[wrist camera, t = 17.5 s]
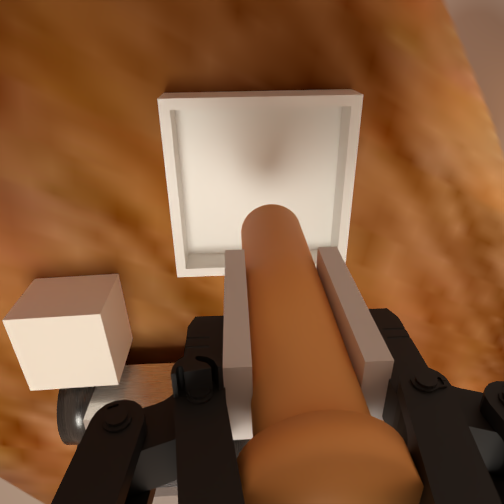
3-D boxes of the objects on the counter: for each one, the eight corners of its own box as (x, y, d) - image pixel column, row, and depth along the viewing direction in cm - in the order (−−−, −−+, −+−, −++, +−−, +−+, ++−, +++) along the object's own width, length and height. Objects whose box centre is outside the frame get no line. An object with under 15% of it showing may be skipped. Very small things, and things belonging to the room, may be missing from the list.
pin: (229, 195, 20) (229, 459, 8) (312, 193, 20) (445, 448, 8) (232, 268, 22) (236, 575, 9) (308, 265, 22) (410, 564, 10)
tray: (163, 92, 24) (157, 98, 22) (351, 89, 25) (363, 94, 23) (181, 258, 30) (177, 277, 28) (336, 253, 30) (344, 270, 28)
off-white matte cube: (35, 277, 30) (2, 320, 26) (118, 272, 30) (100, 314, 26) (57, 342, 33) (30, 390, 28) (133, 337, 33) (118, 384, 29)
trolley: (76, 344, 33) (-36, 575, 19) (254, 337, 33) (272, 555, 19) (103, 445, 38) (32, 680, 25) (255, 437, 39) (270, 662, 25)
